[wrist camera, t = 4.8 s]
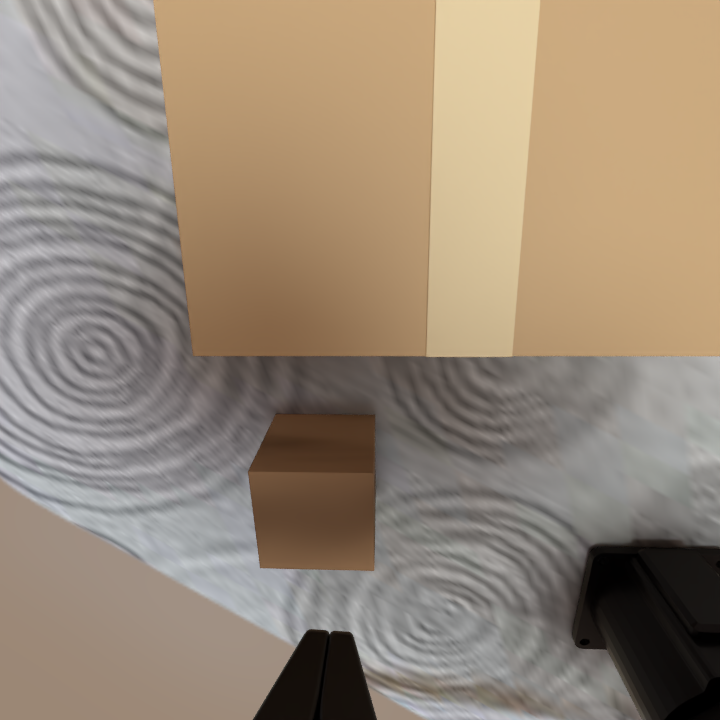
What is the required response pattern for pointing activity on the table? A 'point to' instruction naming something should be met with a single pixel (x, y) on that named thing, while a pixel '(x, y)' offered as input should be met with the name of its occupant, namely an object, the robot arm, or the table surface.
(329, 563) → the walnut block
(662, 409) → the table surface
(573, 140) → the lid
